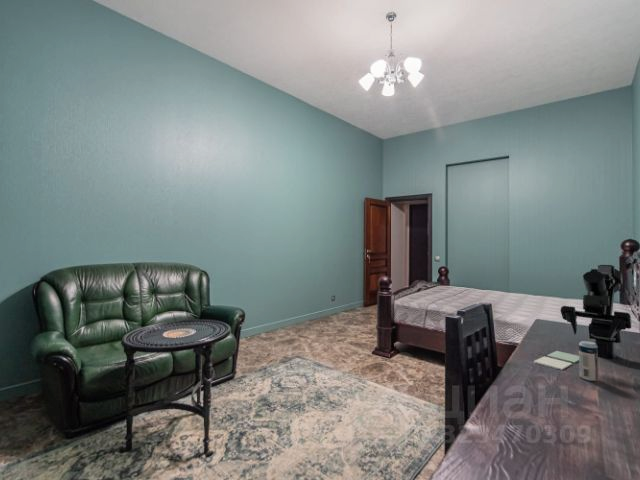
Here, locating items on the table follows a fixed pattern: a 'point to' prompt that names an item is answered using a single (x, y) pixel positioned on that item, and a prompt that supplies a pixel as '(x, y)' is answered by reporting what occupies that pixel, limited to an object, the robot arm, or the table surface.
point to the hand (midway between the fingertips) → (591, 336)
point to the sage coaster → (564, 356)
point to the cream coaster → (553, 363)
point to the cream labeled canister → (588, 360)
